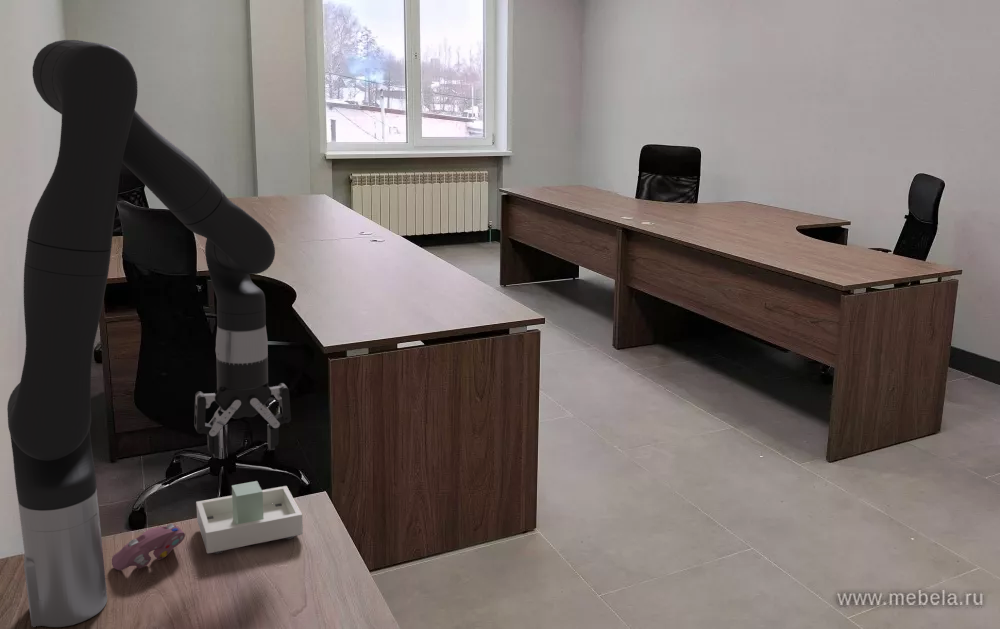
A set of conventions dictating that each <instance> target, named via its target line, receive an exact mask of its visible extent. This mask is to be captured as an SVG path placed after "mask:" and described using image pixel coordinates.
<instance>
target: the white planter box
mask: <svg viewBox="0 0 1000 629" xmlns="http://www.w3.org/2000/svg"><path fill="white" fill-rule="evenodd" d="M262 491H263V516H264V519H263V520H258V521H252V522H247V523H242V524H237V525H236V524H235V522H234V520H233V502H232V495H227V496H226V495H225V496H222V497H221V496H219V497H215V498H211V499H209V498H208V499H205V500H197V501H196V502H195V505H196V520H197V525H198V527H199V531H200V534H201V538H202V541H203V544H204V548H205V550H206V553H207V554H212V553H214V554H215V555H219V554H222V553H223V551H227V550H231V549H237V548H242V547H245V546H251V545H257V544H262V543H267V542H270V541H276V540H281V539H285V540H290V539H291V540H292V539H294V538H295V537H297V536H300V535H301V536H302V535H303V534H304V532H303V528H304V527H303V526H304V525H303V513H302V511H301V509H300V508H299V506H298V504H297V502H296V501H295V499H294V497H293V495H292V492H291V491H290V490H289V488H288V486H287V485H283V486H278V487H271V488H266V489H262ZM272 503H273V504H272Z"/></svg>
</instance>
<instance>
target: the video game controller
mask: <svg viewBox="0 0 1000 629" xmlns="http://www.w3.org/2000/svg"><path fill="white" fill-rule="evenodd" d="M185 537H186V533H185V532H184V531H183V530H182V529H181V528H180V527H179V526H177V525H175V524H173V523H172V522H171V523H169V524H167V525H166V526H165V525H163V526H158V527H151V528H150V529H147V530H145V531H144V532H142V534H140V535H139V536H138V537H136V538H133V539H130V541H129V542H127V543H126V544H125V545H124V546H123V547H122V548H121V549H120V550H119V551H118V552H116V553H114V554H113V555H112V557H111V565H112V568H113V569H115V570H116V571H123V570H125V569H128V568H129V567H136V568H137V569H143V568H144V567H145V568H146V566H147V565H149V564H150V562H151V561H152V557H151V556H150V554H149V553H151V552H152V554H153V555H154V557H155V558H156V559H157V560H158V561H159V560H163V559H164V558H166V557H167V556H168V555H169V554H170V553H171V551H172V550H174V549H175V548H177V546H179V545H180V544H181V543H182V542H183V541H184V540H185Z"/></svg>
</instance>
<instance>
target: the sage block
mask: <svg viewBox="0 0 1000 629" xmlns="http://www.w3.org/2000/svg"><path fill="white" fill-rule="evenodd" d="M262 490H263V489H262V487H261V486H260V484H259V482H258V480H255V481H249V482H244V483H238V484H232V485H231V496H232V502H233V520H234V522H235V524H236V525H237V524H242V523H247V522H252V521H258V520H263V519H264V516H263V491H262Z"/></svg>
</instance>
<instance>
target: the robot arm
mask: <svg viewBox="0 0 1000 629" xmlns="http://www.w3.org/2000/svg"><path fill="white" fill-rule="evenodd" d="M32 79H33V80H32V81H33V84H34V86H35V90H36V92H37V93H38V95H39V96H40V98H42V101H44V102H45V103H46V104H47V105H48V106H49V107H51V109H53V110H54V111H55V112H57V113H59V114H60V115H61V126H60V127H61V129H60V139H59V150H58V154H57V155H58V156H57V159H56V163H55V167H54V170H53V173H52V174H51V176H50V178H49V181H48V183H47V185H46V186H45V188H44V190H43V192H42V194H41V196H40V197H39V199H38V201H37V204H36V206H35V208H34V210H33V213H32V216H31V219H30V222H29V227H28V232H27V239H26V245H25V246H26V248H25V256H24V257H25V258H24V266H23V311H24V312H23V314H24V328H25V353H24V361H23V367H22V372H21V377H20V382H19V383H18V384H17V385H16V386H15V387H14V389H13V390H12V392H11V393H10V395H9V398H8V401H7V424H8V431H9V435H10V436H9V437H10V442H11V443H10V444H11V451H12V459H13V460H12V461H13V470H14V471H13V472H14V479H15V490H16V495H17V503H18V513H19V519H20V528H21V536H22V543H23V544H22V545H23V550H24V555H23V556H24V559H23V569H24V576H25V585H26V593H27V594H26V595H27V600H28V601H27V602H28V609H29V611H28V612H29V617H30V618H29V619H30V623H31V625H30V626H31V627H32V626H33V627H32V628H36V626H37V627H41V626H42V627H48V628H62V627H63V628H65V627H70V626H74V625H76V624H80V623H83V622H86V621H87V620H89V619H91V618H93V617H94V616H97V615H98V614H99V613H100V612H102V610H103V609H104V608H105V607H106V605H107V602H108V594H107V592H108V591H107V590H108V589H107V583H106V582H107V581H106V571H105V560H104V551H103V541H102V540H103V539H102V532H101V531H102V530H101V520H100V510H99V501H98V500H99V498H98V489H97V487H98V486H97V476H96V467H95V462H94V454H93V447H92V438H91V425H92V408H91V407H92V404H91V402H92V401H91V399H92V397H91V396H92V391H91V388H92V387H91V386H92V361H93V360H92V359H93V351H94V346H95V341H96V337H97V333H98V328H99V325H100V321H101V320H100V319H101V315H102V310H103V306H104V299H105V293H106V288H107V284H108V278H109V272H110V271H109V270H110V262H111V257H112V256H111V255H112V248H113V247H112V246H113V233H114V223H115V216H116V211H117V210H116V208H117V203H118V202H117V201H118V194H119V183H120V176H121V170H122V165H124V166H125V167H126V168H127V169H129V171H130V172H132V174H133V175H134V176H135V177H136V178H138V180H140V181H141V182H142V183H143V184H144V186H145V187H146V188H148V190H149V191H150V192H151V193H152V194H153V195H154V196H155V197H156V198H157V199H158V200H159V201H160V202H161V203H162V204H163V205H164V206H165V207H166V208H167V209H168V210H169V211H170V212H171V213H172V214H173V215H174V216H175V217H176V219H177V220H179V221H180V223H182V224H183V225H184V227H186V228H187V229H188V230H190V232H193V233H195V234H197V235H198V236H201V237H203V238H205V239H206V240H205V247H204V251H205V253H204V255H205V262H206V266H207V270H208V273H209V274H208V275H209V277H210V278H209V279H210V282H211V285H212V288H213V291H214V294H215V297H216V325H217V326H216V336H215V348H214V349H215V355H216V389H215V391H214V392H213V393H212V392H211V393H204V392H203V391H196V393H195V394H194V395H195V396H194V415H193V416H194V420H193V424H194V425H193V426H194V428H195V431H196V432H197V433H198V434H199V435H200V434H201V435H202V434H204V435H207V436H206V439H207V450H208V452H209V454H210V455H212V457H213V458H214V459H216V458H220V442H219V440H220V439H219V438H220V436H219V434H218V433H220V432H219V431H221V429H222V428H223V427H224V426H225V425H226V424H227V423H228V422H229V420H230V419H231V418H233V419H234V420H238V419H242V418H255V417H256V415H258V414H260V416H261V417H262V418H263V419H264V420H265V421H267V423H268V424H267V426H266V428H267V431H266V432H267V447H268V449H269V451H274V450H275V449H276V447H277V446H278V445H279V443H280V436H279V435H280V434H279V433H280V432H279V428H280V427H281V425H283V424H289V423H291V421H292V412H291V399H290V398H291V396H290V389H289V388H288V386H287V385H286V384H285V383H284V382H280V383H279V384H278V385H275V386H269V361H268V360H269V357H268V356H269V354H268V353H269V352H268V351H269V350H268V348H269V347H268V346H269V344H268V342H269V341H268V333H267V326H266V324H267V322H266V321H267V320H266V319H267V317H266V316H267V315H266V313H267V312H266V311H267V310H266V295H265V292H264V291H263V290H262V289H261V287H258V286H257V285H256V284H255V283H254V282H253V281H252V278H251V276H250V275H258V274H261V273H263V272H266V271H267V270H268V269H269V268H270V267H271V266H272V264H273V262H274V260H275V255H276V247H275V243H274V240H273V238H272V236H271V234H270V233H269V231H267V229H266V228H265V227H264V226H263V225H262V224H261V223H260V222H259V221H258V220H257V219H255V218H254V217H252V216H251V215H250V214H249V213H248V212H246V211H245V210H244V209H243V208H241V207H240V206H239V205H237V204H235V203H234V202H233V201H232V200H230V199H229V198H228V197H227V196H226V194H225V193H224V192H223V191H222V190H221V188H220V187H219V185H217V184H216V182H214V180H213V179H212V178H211V177H210V176H209V175H208V174H207V173H206V172H205V170H204V169H202V168H201V166H199V165H198V163H196V162H195V160H193V159H192V158H191V157H190V156H189V155H187V153H185V152H184V151H182V150H181V149H180V148H179V147H178V146H176V145H175V144H174V143H172V142H171V141H170V140H169V139H168V138H166V137H165V136H163V135H162V133H160V132H159V131H157V129H156V128H154V127H153V126H152V125H151V124H149V122H148V121H146V120H145V119H144V118H143V117H142V116H141V115H140V114H139V113H138V112H137V110H136V104H137V101H138V100H137V99H138V79H137V74H136V72H135V69H134V66H133V65H132V63H131V61H130V60H129V59H128V57H127V56H126V55H125V54H124V53H123V52H122V51H120V50H119V49H118V48H115V47H113V46H111V45H108V44H106V43H105V44H104V43H99V42H92V41H84V40H79V39H77V40H76V39H63V40H61V39H60V40H56V41H54V42H50V43H48V44H46V45H44V47H42V48H41V49H40V50H39V51H38V53H37V55H36V57H35V59H34V61H33V65H32ZM272 396H274V397H275V399H276V400H277V401H278V406H279V407H278V408H279V409H278V410H279V413H278V414H276V415H274V413H273V412H272V411H271V410H270V409H269V408H268V407H267V406H266V404H267V402H268V401H269V400H270V398H271V397H272ZM213 402H215V403H216V404H217V405H218V406H219V407H218V408H217V410H216V411H215V412H214V414H213V416H212V418H211V420H210V421H209V422H208V423H207V422H206V414H207V412H206V410H207V409H209V408H210V407H211V404H212V403H213ZM197 433H196V434H197Z"/></svg>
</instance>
